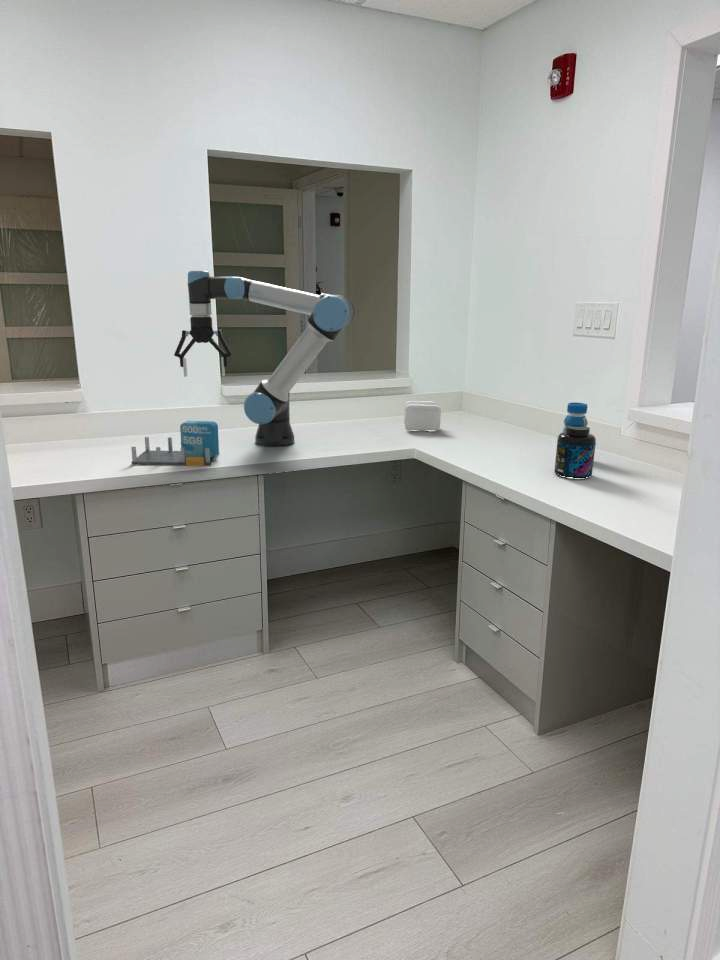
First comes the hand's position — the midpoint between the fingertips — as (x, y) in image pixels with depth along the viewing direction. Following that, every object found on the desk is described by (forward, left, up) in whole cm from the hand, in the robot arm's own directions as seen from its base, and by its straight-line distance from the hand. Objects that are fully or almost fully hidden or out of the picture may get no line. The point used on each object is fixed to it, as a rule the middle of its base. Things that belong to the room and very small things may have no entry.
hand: (204, 376), depth 244 cm
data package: (-1, +19, -26) cm, 32 cm away
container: (-127, +34, -27) cm, 134 cm away
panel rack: (+7, +19, -27) cm, 33 cm away
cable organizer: (-84, -36, -27) cm, 95 cm away
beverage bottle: (-134, +11, -27) cm, 137 cm away
